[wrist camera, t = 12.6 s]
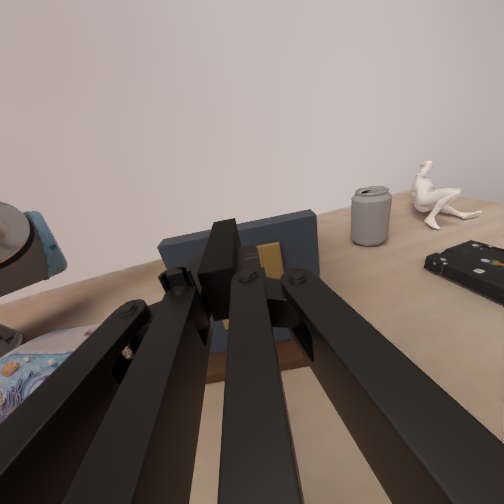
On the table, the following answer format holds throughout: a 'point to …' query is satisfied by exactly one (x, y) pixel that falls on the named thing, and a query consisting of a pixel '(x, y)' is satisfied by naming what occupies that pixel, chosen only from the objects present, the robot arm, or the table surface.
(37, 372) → the cell model
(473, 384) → the table surface
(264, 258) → the switch wall
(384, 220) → the can
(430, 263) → the disk drive
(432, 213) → the person figurine
